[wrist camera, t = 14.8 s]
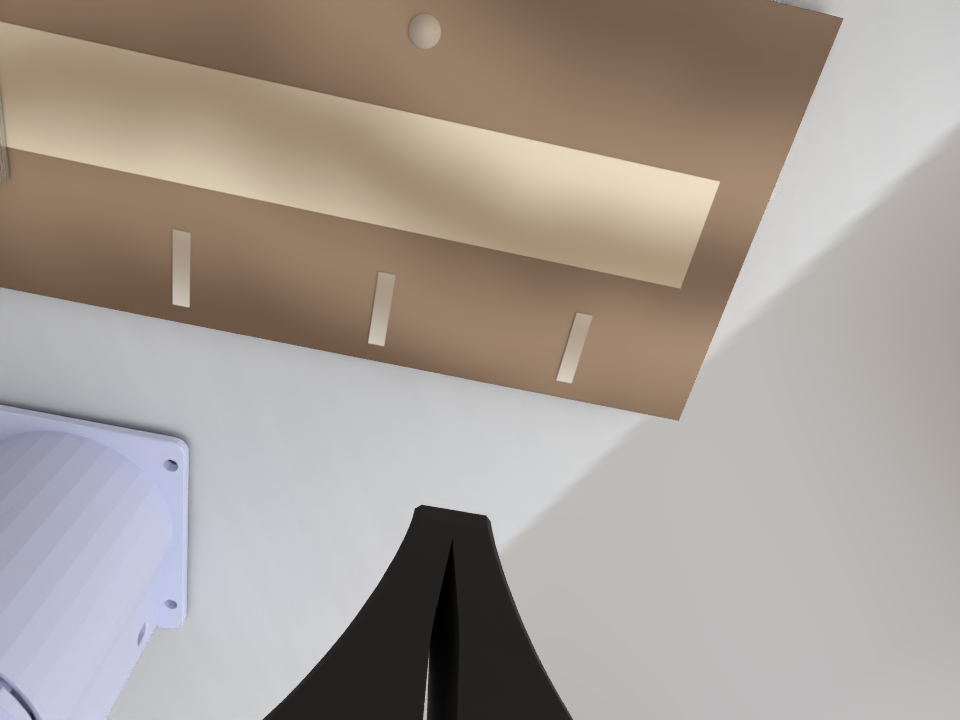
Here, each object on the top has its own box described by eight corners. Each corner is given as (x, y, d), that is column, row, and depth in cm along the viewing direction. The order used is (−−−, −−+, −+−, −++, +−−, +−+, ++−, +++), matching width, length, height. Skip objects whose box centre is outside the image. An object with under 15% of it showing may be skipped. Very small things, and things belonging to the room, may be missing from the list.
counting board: (672, 404, 24) (679, 421, 23) (-130, 244, 22) (-158, 256, 21) (827, 16, 18) (844, 18, 17) (-233, -240, 16) (-277, -253, 15)
